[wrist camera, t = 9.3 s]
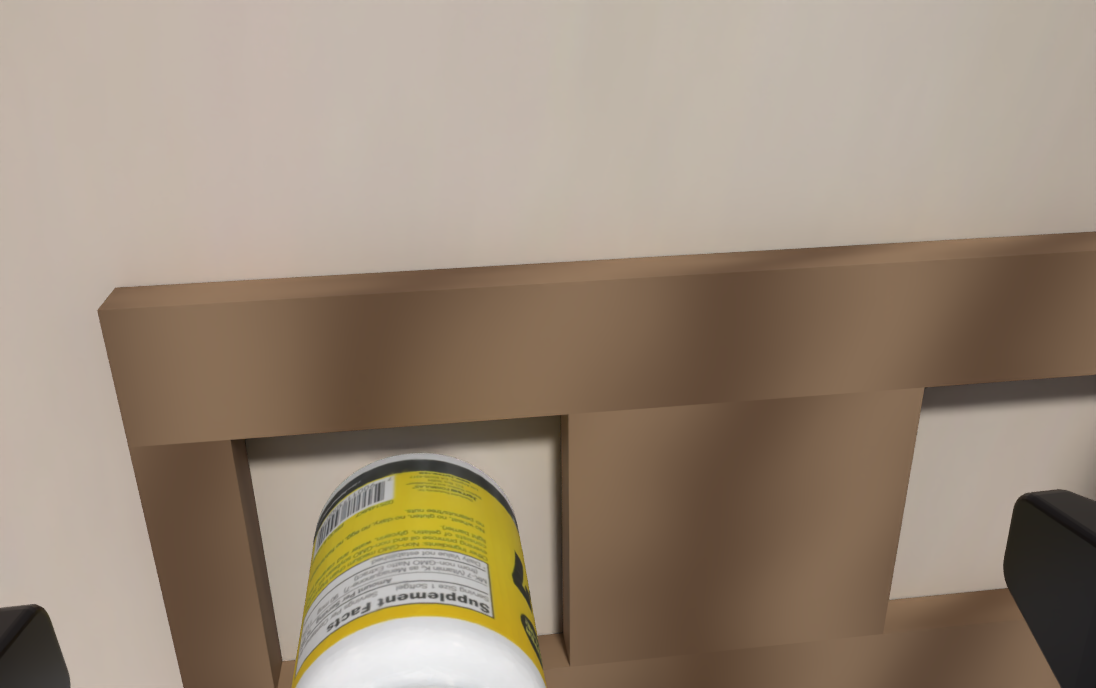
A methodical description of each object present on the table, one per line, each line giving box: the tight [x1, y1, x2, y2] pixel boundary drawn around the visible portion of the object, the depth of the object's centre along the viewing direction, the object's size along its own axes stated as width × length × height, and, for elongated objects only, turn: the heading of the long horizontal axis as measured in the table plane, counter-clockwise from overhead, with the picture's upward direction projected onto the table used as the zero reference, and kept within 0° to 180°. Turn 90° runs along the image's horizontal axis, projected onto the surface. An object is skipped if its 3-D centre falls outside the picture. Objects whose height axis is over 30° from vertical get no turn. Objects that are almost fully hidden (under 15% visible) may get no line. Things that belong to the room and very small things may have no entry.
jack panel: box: [97, 232, 1096, 688], centre depth 23 cm, size 26×13×1 cm, turn 91°
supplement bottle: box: [291, 453, 547, 688], centre depth 19 cm, size 5×5×8 cm
